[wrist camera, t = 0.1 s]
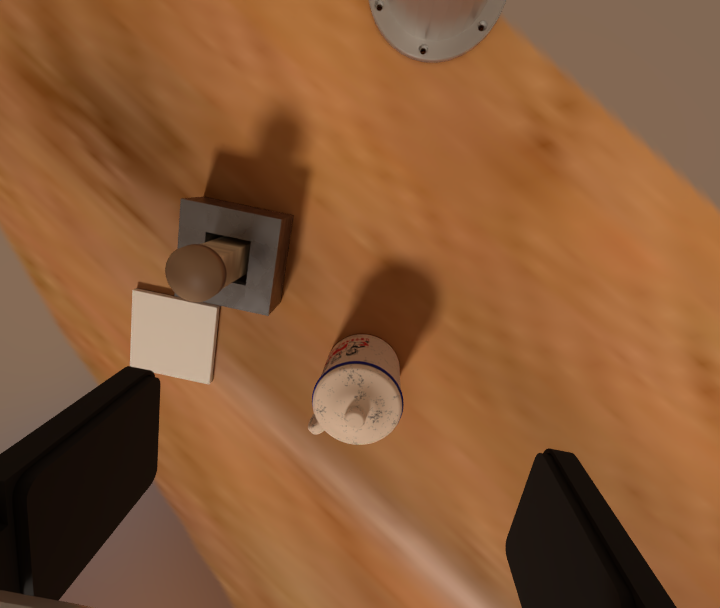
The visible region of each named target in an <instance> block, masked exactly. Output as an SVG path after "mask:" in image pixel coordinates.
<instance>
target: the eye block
mask: <svg viewBox="0 0 720 608" xmlns="http://www.w3.org/2000/svg"><path fill="white" fill-rule="evenodd" d="M292 221H293V215H289V214H284V213H280V212H275V211H270V210H265V209H260V208H256V207H251V206H246V205H241V204H236V203H232V202H227V201H222V200H217V199H212V198H207V197H194V198H182V199H181V204H180V220H179V235H178V249H179V248H181V247H184V246H187V245H191V244H202V243H205V242H208V241H211V240H214V239H217V238H220V237H223V236H228V237H233V238H238V239H242V240H247V241H251V246H250V254H249V263H248V271H247V273H246V274H245V275H243V276H242V277H240V278H239V279H237V280H235V281H234V282H232V283H231V284H229V285H228V286H226V287H224V288H223V289H222V290H221V291H220V292H219V293H218V294H216V295H215V296H213V297H212V298H210V299H208V300H206V301H203V302H206V303H210V304H215V305H220V306H225V307H229V308H234V309H239V310H243V311H248V312H253V313H258V314H262V315H267V316H269V314H270V313H271V312H272V311H273V310H274V309H275V308H276V307H277V306H278V305H279V304H280V302H281V297H282V290H283V283H284V276H285V269H286V263H287V256H288V249H289V242H290V235H291V228H292ZM174 296H177V297H180V296H178V295H177V294H176V293H175V295H174Z"/></svg>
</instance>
